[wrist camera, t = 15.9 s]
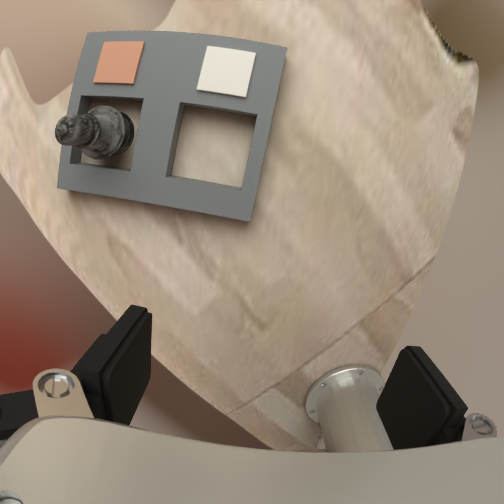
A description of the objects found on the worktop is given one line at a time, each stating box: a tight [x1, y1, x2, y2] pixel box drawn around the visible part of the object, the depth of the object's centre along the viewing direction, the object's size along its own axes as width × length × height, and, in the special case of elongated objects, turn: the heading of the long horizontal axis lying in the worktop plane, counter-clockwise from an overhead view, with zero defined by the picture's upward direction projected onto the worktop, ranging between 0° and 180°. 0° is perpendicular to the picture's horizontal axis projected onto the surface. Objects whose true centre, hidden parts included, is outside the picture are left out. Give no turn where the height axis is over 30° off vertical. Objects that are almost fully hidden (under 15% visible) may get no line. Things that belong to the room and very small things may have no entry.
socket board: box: [57, 31, 287, 222], centre depth 30 cm, size 19×23×3 cm
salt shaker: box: [55, 105, 134, 159], centre depth 26 cm, size 6×6×12 cm
